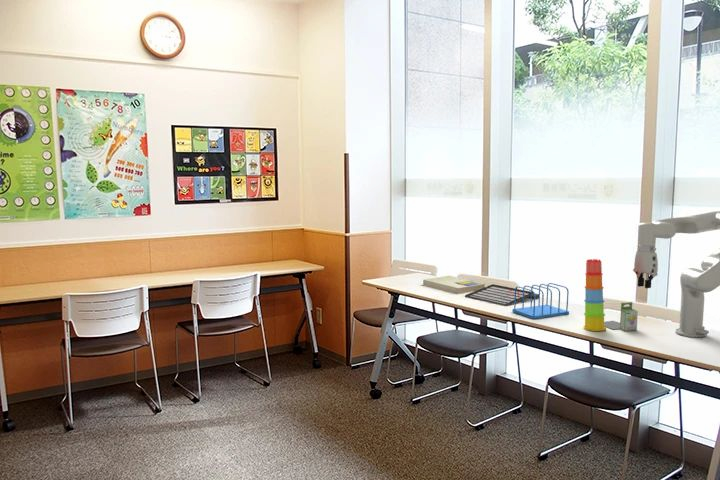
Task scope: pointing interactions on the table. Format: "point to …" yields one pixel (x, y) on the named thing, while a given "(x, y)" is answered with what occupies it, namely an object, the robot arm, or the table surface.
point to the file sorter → (540, 310)
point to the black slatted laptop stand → (500, 295)
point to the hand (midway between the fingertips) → (644, 286)
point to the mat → (612, 325)
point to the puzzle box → (453, 284)
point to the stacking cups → (594, 296)
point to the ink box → (628, 317)
